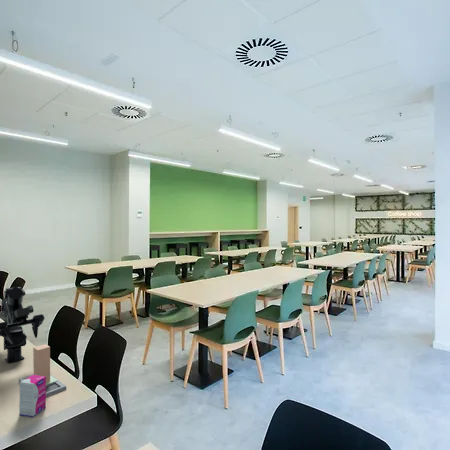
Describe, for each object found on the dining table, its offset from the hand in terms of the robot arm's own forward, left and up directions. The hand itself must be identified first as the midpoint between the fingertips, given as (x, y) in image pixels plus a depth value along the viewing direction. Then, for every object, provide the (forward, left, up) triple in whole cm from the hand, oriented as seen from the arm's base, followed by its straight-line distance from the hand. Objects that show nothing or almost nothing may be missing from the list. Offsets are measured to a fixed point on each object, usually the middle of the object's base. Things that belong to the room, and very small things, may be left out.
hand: (24, 340), depth 139 cm
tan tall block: (+18, 0, -12) cm, 22 cm away
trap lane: (+19, 0, -14) cm, 23 cm away
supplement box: (+36, -9, -14) cm, 39 cm away
